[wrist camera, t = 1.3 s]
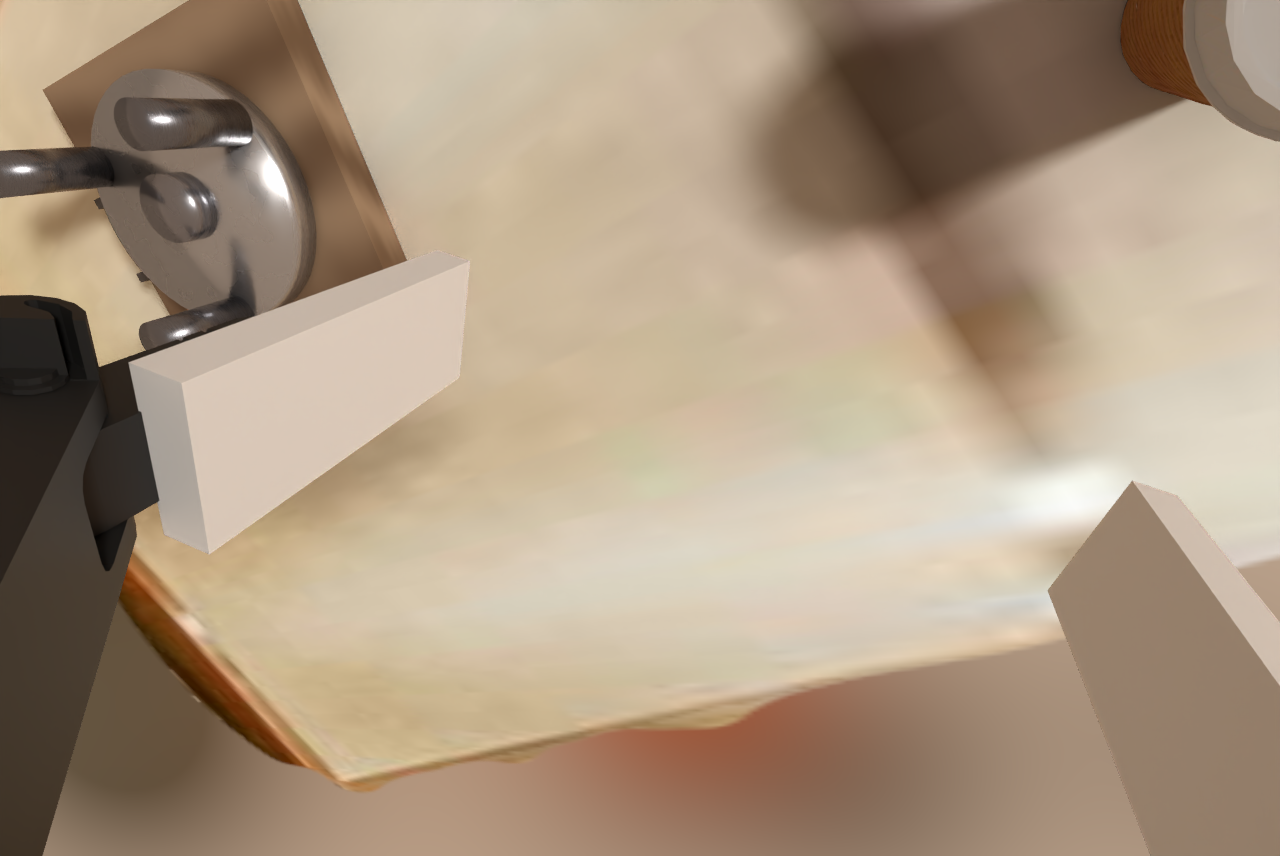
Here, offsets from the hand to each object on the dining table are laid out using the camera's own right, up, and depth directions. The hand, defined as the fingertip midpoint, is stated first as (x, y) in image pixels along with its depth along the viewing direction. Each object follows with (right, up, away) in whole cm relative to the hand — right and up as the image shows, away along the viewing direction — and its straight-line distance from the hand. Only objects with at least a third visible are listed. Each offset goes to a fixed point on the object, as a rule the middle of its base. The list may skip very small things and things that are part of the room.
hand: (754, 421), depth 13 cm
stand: (-29, +16, +31) cm, 46 cm away
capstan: (-30, +14, +29) cm, 44 cm away
